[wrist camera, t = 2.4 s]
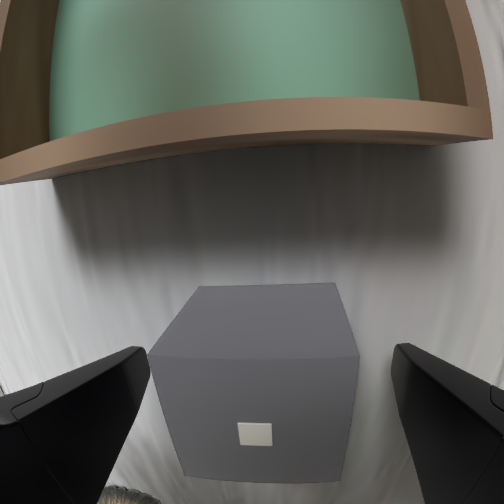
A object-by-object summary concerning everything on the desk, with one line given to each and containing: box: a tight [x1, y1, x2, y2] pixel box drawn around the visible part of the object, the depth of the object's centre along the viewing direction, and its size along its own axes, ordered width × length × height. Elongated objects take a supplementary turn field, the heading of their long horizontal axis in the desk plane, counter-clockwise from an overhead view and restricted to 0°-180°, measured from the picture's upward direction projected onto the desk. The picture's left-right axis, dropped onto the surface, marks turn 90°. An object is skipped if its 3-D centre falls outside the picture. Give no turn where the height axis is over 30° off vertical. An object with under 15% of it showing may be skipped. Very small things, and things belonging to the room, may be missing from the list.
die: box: [147, 282, 360, 483], centre depth 8 cm, size 4×4×4 cm
